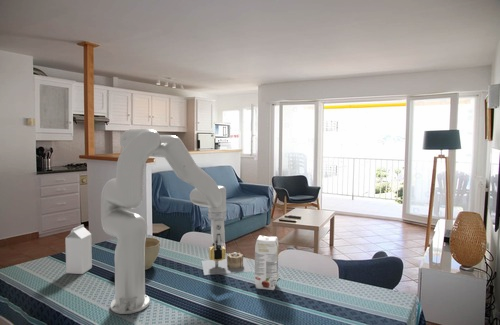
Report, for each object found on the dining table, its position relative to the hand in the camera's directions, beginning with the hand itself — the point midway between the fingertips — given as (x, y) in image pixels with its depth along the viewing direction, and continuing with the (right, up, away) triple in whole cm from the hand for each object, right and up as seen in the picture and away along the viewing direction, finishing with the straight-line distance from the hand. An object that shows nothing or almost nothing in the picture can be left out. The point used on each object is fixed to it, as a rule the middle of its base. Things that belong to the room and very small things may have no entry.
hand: (217, 255), depth 145 cm
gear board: (+4, -6, +1) cm, 7 cm away
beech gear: (+8, -5, +2) cm, 9 cm away
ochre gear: (0, -1, 0) cm, 1 cm away
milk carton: (-58, -6, -3) cm, 58 cm away
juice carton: (+20, -8, -15) cm, 26 cm away
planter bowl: (-33, -6, +3) cm, 34 cm away
